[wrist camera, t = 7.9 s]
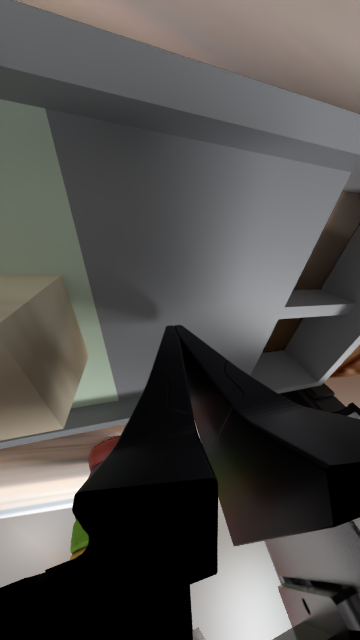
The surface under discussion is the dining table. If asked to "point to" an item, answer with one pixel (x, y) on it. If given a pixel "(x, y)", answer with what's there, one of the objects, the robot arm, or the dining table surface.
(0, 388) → the birch block
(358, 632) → the robot arm
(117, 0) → the dining table surface
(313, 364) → the gray tray box
